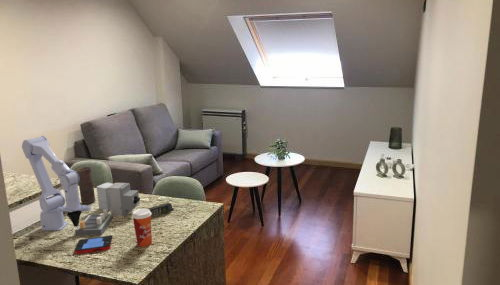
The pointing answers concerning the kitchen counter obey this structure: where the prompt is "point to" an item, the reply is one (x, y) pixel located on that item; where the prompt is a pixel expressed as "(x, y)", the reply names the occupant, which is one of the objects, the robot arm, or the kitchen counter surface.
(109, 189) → the circuit breaker
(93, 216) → the breaker panel
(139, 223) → the coffee cup
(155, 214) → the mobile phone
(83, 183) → the candle
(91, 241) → the game console
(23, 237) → the kitchen counter surface
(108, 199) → the supplement box
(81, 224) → the block
